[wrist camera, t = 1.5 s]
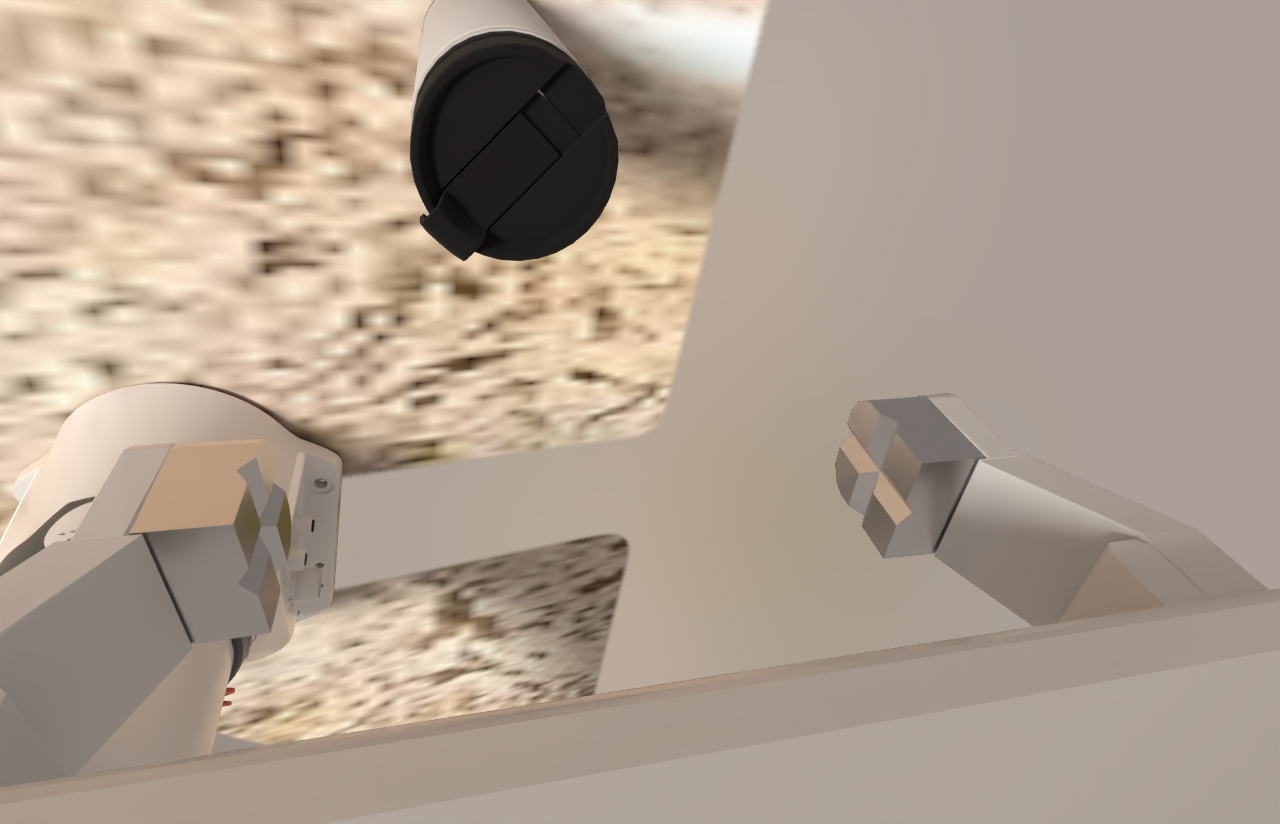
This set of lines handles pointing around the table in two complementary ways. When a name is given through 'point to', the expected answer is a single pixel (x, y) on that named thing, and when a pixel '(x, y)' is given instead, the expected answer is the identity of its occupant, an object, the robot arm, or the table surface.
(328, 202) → the table surface
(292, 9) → the table surface
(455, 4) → the travel mug
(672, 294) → the table surface
